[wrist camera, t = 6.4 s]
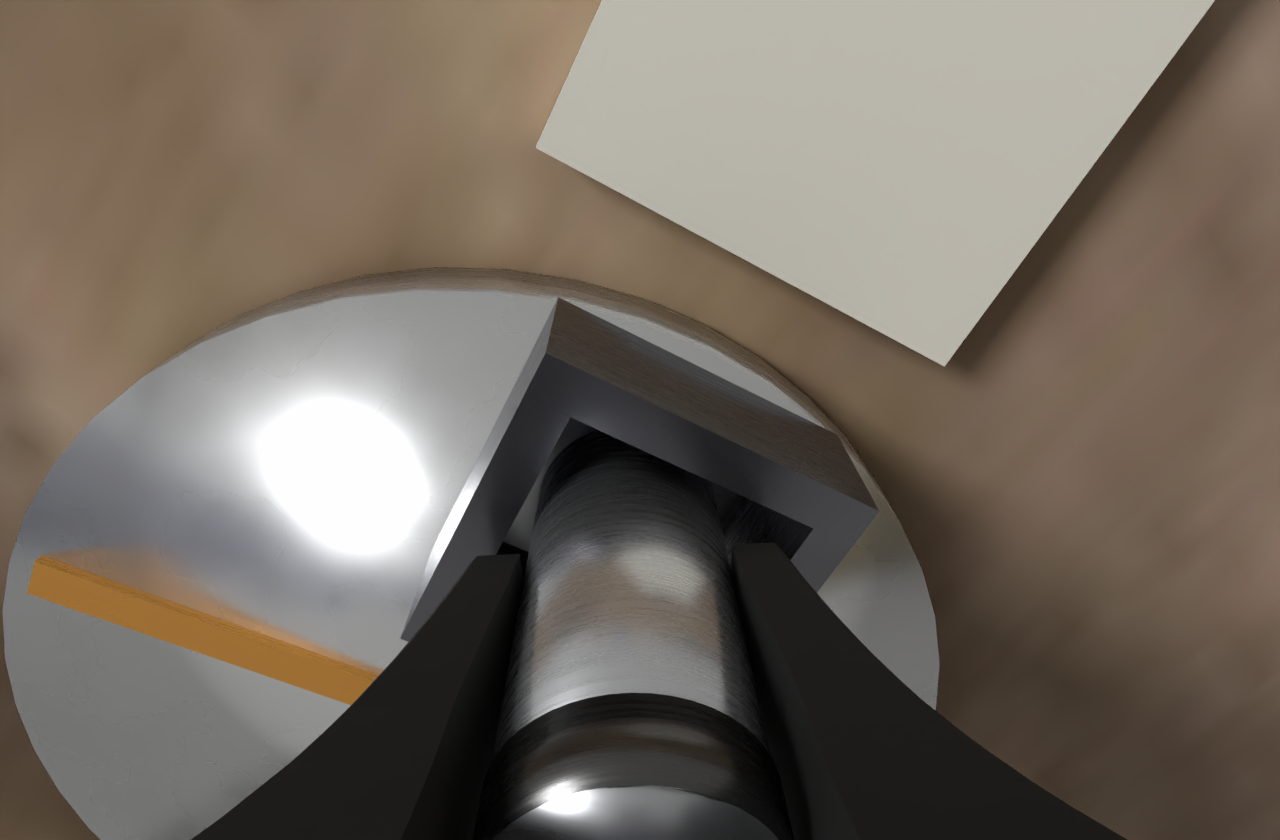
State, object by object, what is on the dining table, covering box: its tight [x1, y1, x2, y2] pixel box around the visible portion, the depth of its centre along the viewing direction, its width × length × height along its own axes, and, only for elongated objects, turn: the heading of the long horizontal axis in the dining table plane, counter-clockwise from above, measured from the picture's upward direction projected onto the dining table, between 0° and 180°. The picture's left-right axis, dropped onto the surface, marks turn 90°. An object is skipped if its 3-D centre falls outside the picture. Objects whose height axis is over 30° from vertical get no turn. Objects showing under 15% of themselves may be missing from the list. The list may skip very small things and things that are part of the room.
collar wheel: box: [3, 267, 940, 840], centre depth 16 cm, size 19×19×4 cm
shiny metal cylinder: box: [472, 430, 794, 840], centre depth 10 cm, size 3×3×7 cm
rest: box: [536, 0, 1215, 367], centre depth 12 cm, size 8×8×1 cm
